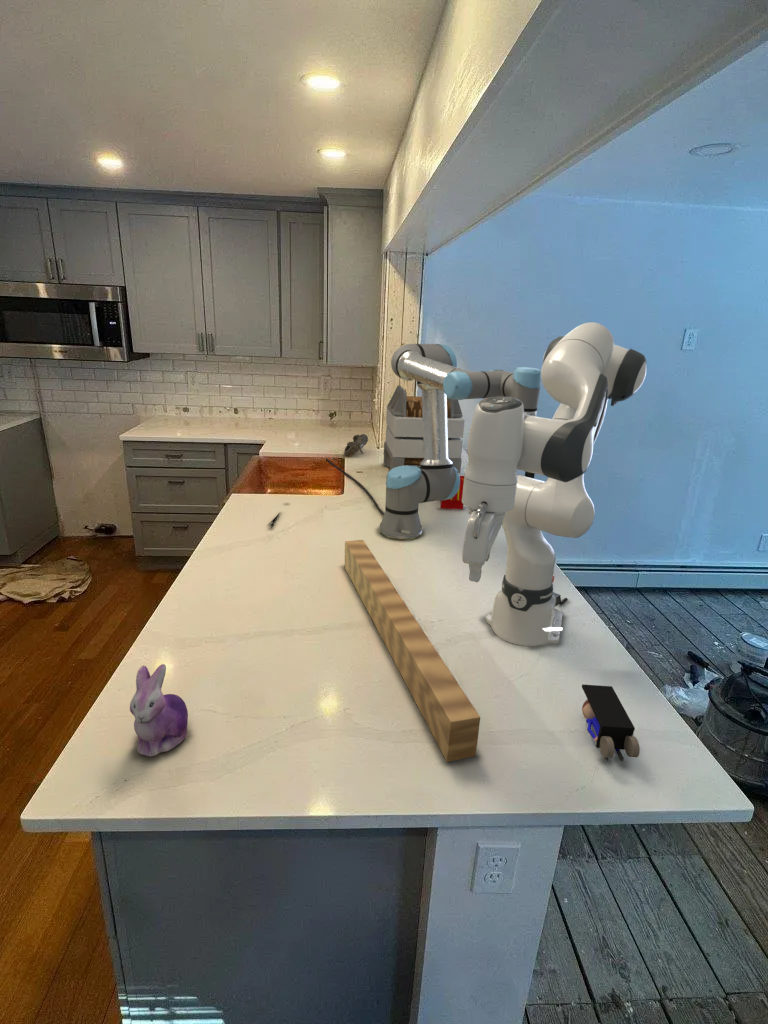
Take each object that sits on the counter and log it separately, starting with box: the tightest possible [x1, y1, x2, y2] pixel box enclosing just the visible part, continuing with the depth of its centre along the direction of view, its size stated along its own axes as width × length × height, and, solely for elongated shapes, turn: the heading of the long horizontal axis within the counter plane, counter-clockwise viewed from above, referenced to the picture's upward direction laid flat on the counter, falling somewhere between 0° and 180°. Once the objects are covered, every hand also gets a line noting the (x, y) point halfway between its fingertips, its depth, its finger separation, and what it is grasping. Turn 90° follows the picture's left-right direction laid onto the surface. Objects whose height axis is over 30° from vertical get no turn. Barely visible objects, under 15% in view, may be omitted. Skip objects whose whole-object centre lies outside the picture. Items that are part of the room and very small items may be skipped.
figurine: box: [129, 663, 189, 757], centre depth 99 cm, size 9×10×15 cm
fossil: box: [343, 433, 369, 458], centre depth 305 cm, size 22×10×15 cm
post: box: [344, 539, 481, 763], centre depth 136 cm, size 81×6×9 cm, turn 17°
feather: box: [266, 512, 281, 529], centre depth 211 cm, size 2×28×2 cm
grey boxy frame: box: [383, 384, 465, 475], centre depth 268 cm, size 34×33×41 cm
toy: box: [440, 473, 465, 510], centre depth 238 cm, size 12×13×30 cm
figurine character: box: [581, 684, 641, 762], centre depth 105 cm, size 7×8×15 cm
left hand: (511, 497), depth 165 cm, fingers open, 13 cm apart
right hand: (479, 569), depth 100 cm, fingers open, 8 cm apart
